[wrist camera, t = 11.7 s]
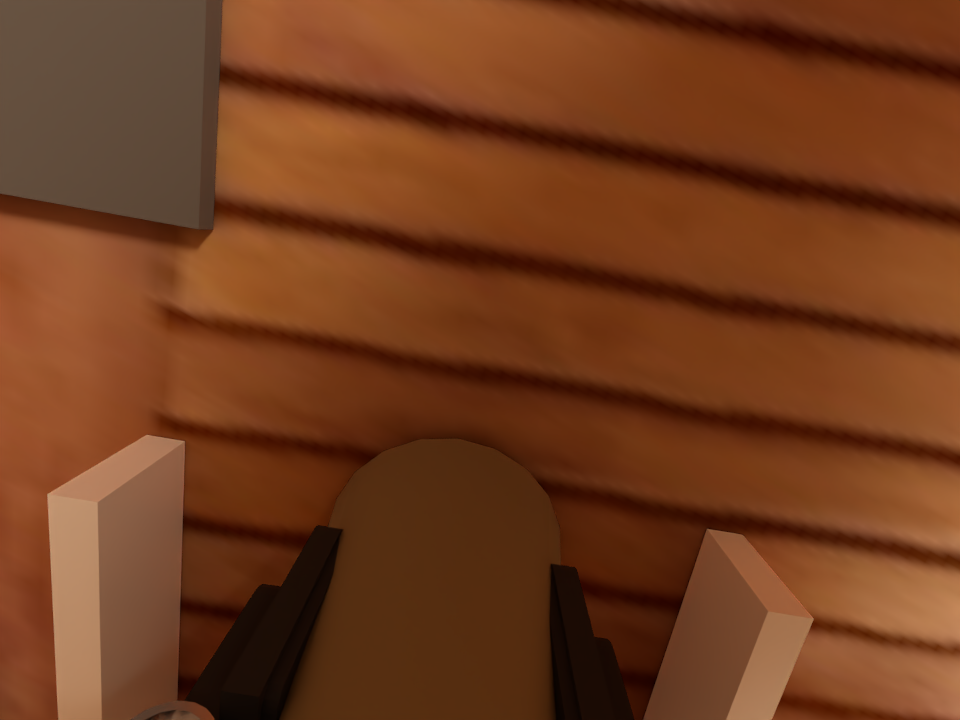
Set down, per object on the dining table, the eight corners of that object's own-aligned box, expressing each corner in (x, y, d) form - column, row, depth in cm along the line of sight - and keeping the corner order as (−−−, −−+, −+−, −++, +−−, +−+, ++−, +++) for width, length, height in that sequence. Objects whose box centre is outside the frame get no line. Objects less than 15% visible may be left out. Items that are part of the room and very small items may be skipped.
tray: (146, 434, 13) (47, 493, 10) (742, 534, 13) (813, 618, 10) (143, 777, 16) (66, 900, 13) (630, 848, 16) (661, 981, 13)
